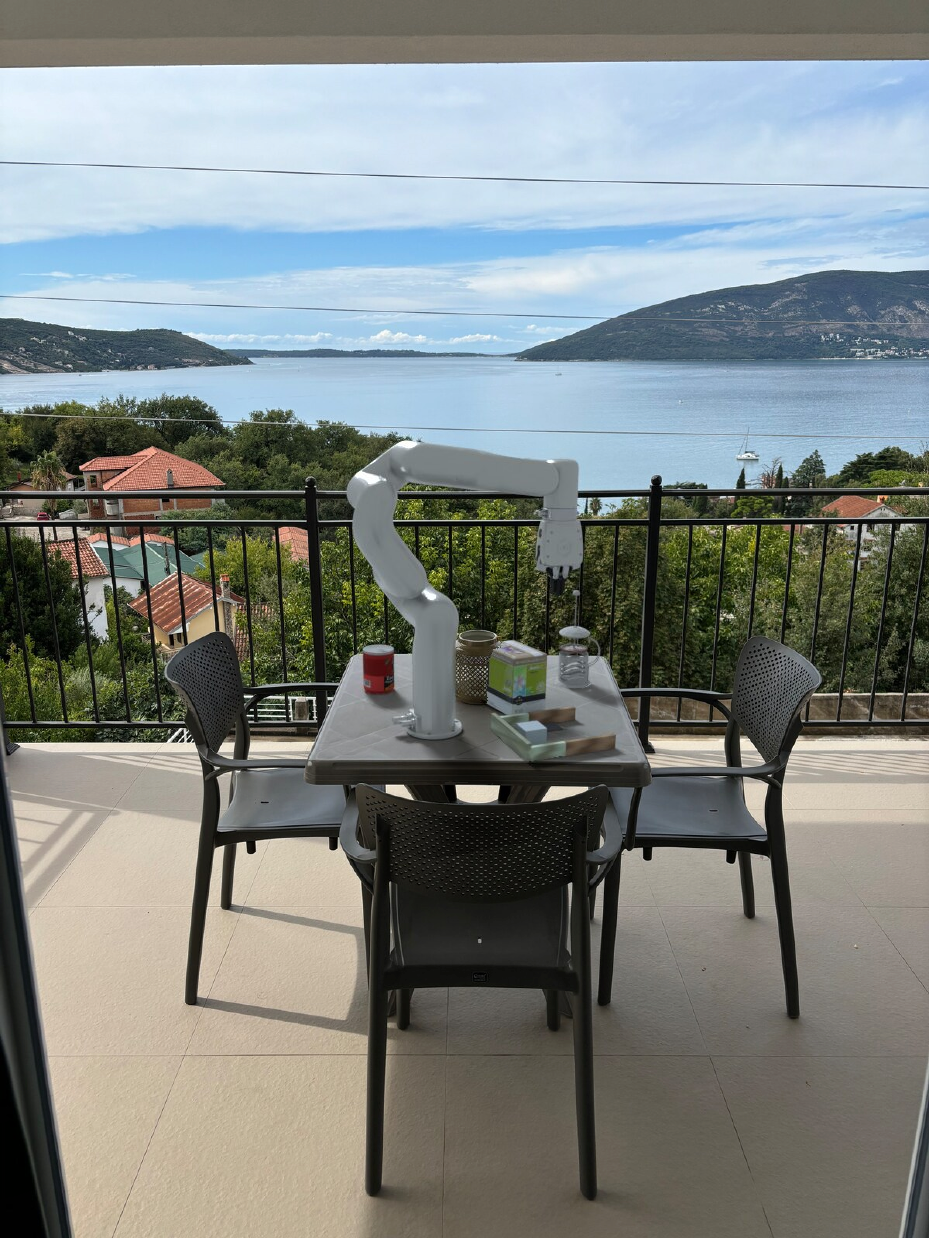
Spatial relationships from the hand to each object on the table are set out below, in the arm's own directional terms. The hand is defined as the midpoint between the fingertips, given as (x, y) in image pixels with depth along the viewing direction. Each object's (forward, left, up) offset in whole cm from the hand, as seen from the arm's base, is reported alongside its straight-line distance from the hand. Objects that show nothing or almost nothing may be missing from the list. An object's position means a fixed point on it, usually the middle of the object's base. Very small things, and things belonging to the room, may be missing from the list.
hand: (557, 594), depth 200 cm
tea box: (-7, +8, -29) cm, 31 cm away
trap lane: (-7, -14, -29) cm, 33 cm away
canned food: (-34, +31, -29) cm, 55 cm away
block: (-12, -14, -29) cm, 35 cm away
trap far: (-5, -8, -29) cm, 31 cm away
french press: (+16, +19, -29) cm, 38 cm away
